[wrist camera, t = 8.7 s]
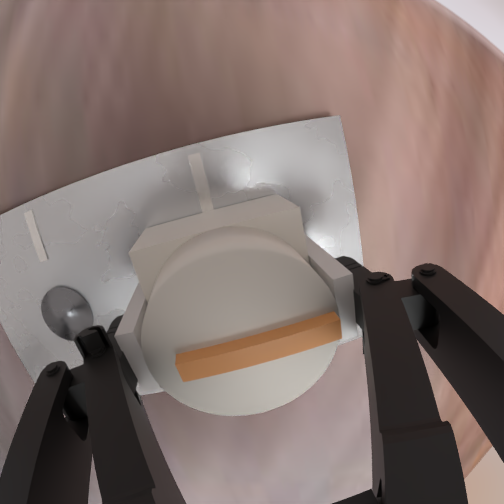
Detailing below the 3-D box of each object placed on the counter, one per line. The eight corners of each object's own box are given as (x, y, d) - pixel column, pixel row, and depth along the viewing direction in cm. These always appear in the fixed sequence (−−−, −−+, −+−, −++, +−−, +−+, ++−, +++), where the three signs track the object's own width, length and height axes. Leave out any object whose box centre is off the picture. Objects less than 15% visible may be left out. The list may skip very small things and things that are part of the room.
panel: (54, 396, 19) (38, 432, 15) (-25, 228, 15) (-62, 246, 11) (360, 326, 21) (388, 358, 17) (331, 117, 17) (366, 108, 13)
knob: (185, 340, 18) (182, 440, 11) (145, 228, 16) (103, 290, 9) (299, 310, 18) (350, 395, 11) (276, 193, 16) (335, 228, 9)
